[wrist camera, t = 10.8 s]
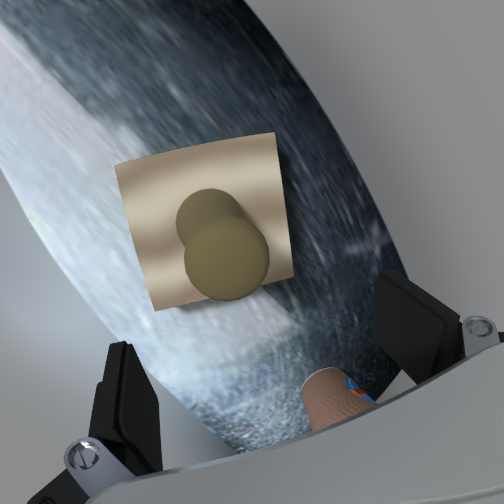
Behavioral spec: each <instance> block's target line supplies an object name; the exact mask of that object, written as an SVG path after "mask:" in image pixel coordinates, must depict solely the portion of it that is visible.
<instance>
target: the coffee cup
mask: <svg viewBox="0 0 504 504" xmlns="http://www.w3.org/2000/svg"><path fill="white" fill-rule="evenodd" d="M301 395H302V400H303V403H304V406H305V409H306V412H307V415H308V418H309V421H310V423H311V426H312V429H313V431H315V430H318V429H321V428H324V427H326V426H329V425H331V424H334V423H336V422H339V421H341V420H344V419H346V418H349V417H351V416H353V415H356V414H358V413H360V412H363V411H365V410H367V409H369V408H372V407H374V406H376V405H378V404H377V403H376V402H374V401H373V400H372V399H371V398H370V397H369V396H368V395H367V394H366V393H365V392H364V391H363V390H362V389H361V388H360V387H358V385H357V384H356V383H355V382H354V381H353V380H352V379H351V378H349V377H348V376H347V375H346V374H345V373H344V372H342V371H341V370H340V369H338V368H335V367H327V368H323V369H320V370H318V371H316V372H314V373H313V374H312V375H310V376H309V377H308V378H307V379H306V381H305V382H304V384H303V385H302V388H301Z"/></svg>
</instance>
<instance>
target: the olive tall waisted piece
mask: <svg viewBox="0 0 504 504" xmlns="http://www.w3.org/2000/svg"><path fill="white" fill-rule="evenodd" d="M175 222H176V230H177V234H178V236H179V238H180V240H181V242H182V243H183V245H184V247H185V252H184V264H185V271H186V274H187V276H188V278H189V280H190V282H191V284H192V285H193V286H194V287H195V288H196V289H197V290H198V291H200V292H201V293H202V294H203V295H205V296H207V297H209V298H211V299H213V300H219V301H232V300H239V299H241V298H243V297H245V296H247V295H250V294H251V293H252V292H253V291H254V290H256V289H257V288H258V287H259V286H260V285H261V283H262V282H263V280H264V279H265V277H266V276H267V272H268V269H269V265H270V254H269V247H268V245H267V242H266V239H265V237H264V236H263V234H262V233H261V232H260V231H259V230H258V229H257V227H256V226H255V225H254V224H252V223H250V222H248V221H247V220H245V218H244V215H243V212H242V210H241V207H240V205H239V203H238V202H237V201H236V200H235V199H234V197H233V196H232V195H230V194H228V193H226V192H225V191H223V190H218V189H213V188H210V189H201V190H199V191H197V192H195V193H193V194H191V195H190V196H189V197H187V198H186V199H185V200H184V201H183V202H182V204H181V206H180V208H179V209H178V212H177V216H176V221H175Z"/></svg>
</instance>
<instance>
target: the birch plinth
mask: <svg viewBox="0 0 504 504" xmlns="http://www.w3.org/2000/svg"><path fill="white" fill-rule="evenodd" d="M114 167H115V171H116V176H117V180H118V184H119V189H120V193H121V197H122V201H123V205H124V209H125V213H126V217H127V221H128V225H129V228H130V232H131V236H132V239H133V243H134V246H135V250H136V253H137V257H138V260H139V263H140V267H141V270H142V273H143V276H144V280H145V283H146V286H147V289H148V292H149V295H150V298H151V301H152V304H153V307H154V310H155V311H159V310H163V309H167V308H172V307H176V306H180V305H184V304H189V303H193V302H197V301H201V300H205V299H209V297H207V296H205V295H203V294H202V293H201V292H200V291H198V290H197V289H196V288H195V287H194V286H193V285H192V284H191V282H190V280H189V278H188V276H187V274H186V271H185V264H184V252H185V247H184V245H183V243H182V242H181V240H180V238H179V236H178V234H177V230H176V222H175V221H176V216H177V212H178V209H179V208H180V206H181V204H182V202H183V201H184V200H185V199H186V198H187V197H189V196H190V195H191V194H193V193H195V192H197V191H199V190H201V189H210V188H213V189H218V190H223V191H225V192H226V193H228V194H230V195H232V196H233V197H234V199H235V200H236V201H237V202H238V203H239V205H240V207H241V210H242V212H243V215H244V218H245V220H247V221H248V222H250V223H252V224H254V225H255V226H256V227H257V229H258V230H259V231H260V232H261V233H262V234H263V236H264V237H265V239H266V242H267V245H268V247H269V254H270V265H269V269H268V272H267V276H266V277H265V279H264V280H263V282H262V283H261V285H265V284H269V283H272V282H276V281H280V280H284V279H288V278H291V277H294V272H293V263H292V255H291V247H290V239H289V231H288V223H287V216H286V208H285V201H284V194H283V187H282V180H281V173H280V166H279V159H278V153H277V146H276V140H275V133H264V134H257V135H251V136H244V137H238V138H233V139H227V140H221V141H216V142H211V143H206V144H201V145H196V146H191V147H186V148H182V149H177V150H173V151H168V152H164V153H160V154H156V155H151V156H147V157H143V158H140V159H136V160H132V161H128V162H124V163H121V164H118V165H115V166H114ZM261 285H260V286H261Z"/></svg>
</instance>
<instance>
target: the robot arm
mask: <svg viewBox="0 0 504 504" xmlns="http://www.w3.org/2000/svg"><path fill="white" fill-rule="evenodd" d="M459 319H460V315H458V314H457V313H456V312H454V311H453V310H451V309H450V308H449V307H447V306H446V305H444V304H443V303H441V302H440V301H439V300H437V299H436V298H434V297H433V296H432V295H430V294H429V293H427V292H426V291H424V290H423V289H421V288H420V287H418V286H417V285H415V284H414V283H412V282H411V281H410V280H408V279H407V278H405V277H404V276H402V275H401V274H399V273H398V272H396V271H395V270H393V269H390V270H387V271H384V272H380V273H379V274H378V276H377V278H375V284H374V311H373V328H372V334H373V338H374V340H375V341H376V342H377V343H378V344H379V345H380V346H381V347H382V348H383V349H384V350H385V351H386V352H387V353H388V354H389V356H390V357H391V358H392V359H393V360H394V361H395V362H396V363H397V364H398V365H399V366H400V367H401V368H402V369H403V370H404V371H405V372H406V373H407V374H408V376H409V377H410V378H411V379H412V380H413V381H414V382H415V383H416V384H417V385H416V386H414V387H413V388H411V389H409V390H407V391H405V392H403V393H401V394H399V395H397V396H395V397H393V398H391V399H389V400H387V401H385V402H382V403H380V404H378V405H376V406H374V407H372V408H369V409H367V410H365V411H363V412H360V413H358V414H356V415H353V416H351V417H349V418H346V419H344V420H341V421H339V422H336V423H334V424H331V425H329V426H326V427H324V428H321V429H318V430H315V431H313V432H310V433H307V434H304V435H301V436H298V437H296V438H293V439H290V440H286V441H283V442H280V443H277V444H274V445H271V446H267V447H264V448H260V449H257V450H253V451H250V452H246V453H242V454H238V455H235V456H230V457H226V458H222V459H217V460H213V461H209V462H204V463H200V464H195V465H190V466H185V467H180V468H175V469H169V470H164V471H163V465H162V452H161V438H160V419H159V402H158V398H157V395H156V393H155V391H154V389H153V387H152V385H151V383H150V381H149V379H148V377H147V375H146V373H145V371H144V369H143V367H142V364H141V362H140V360H139V358H138V356H137V353H136V351H135V349H134V347H133V345H132V344H127V342H126V341H122V342H117V343H112V344H110V346H109V351H108V355H107V360H106V366H105V370H104V376H103V381H102V382H99V383H98V384H97V388H96V393H95V398H94V404H93V410H92V416H91V422H90V428H89V435H88V437H84V438H80V439H78V440H76V441H74V442H72V443H71V444H70V445H69V446H68V448H67V449H66V451H65V454H64V464H65V466H66V469H65V470H64V471H63V472H62V473H61V474H59V475H58V476H57V477H56V478H55V479H53V480H52V481H51V482H50V483H49V484H47V485H46V486H45V487H44V488H43V489H42V490H40V491H39V492H38V493H37V494H35V495H34V496H33V497H32V498H31V499H30V500H29V501H28V503H27V504H504V332H497V328H496V326H495V324H494V323H493V322H492V321H491V320H489V319H488V318H485V317H482V316H471V317H468V318H466V319H465V320H464V321H463V323H461V322H459Z"/></svg>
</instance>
